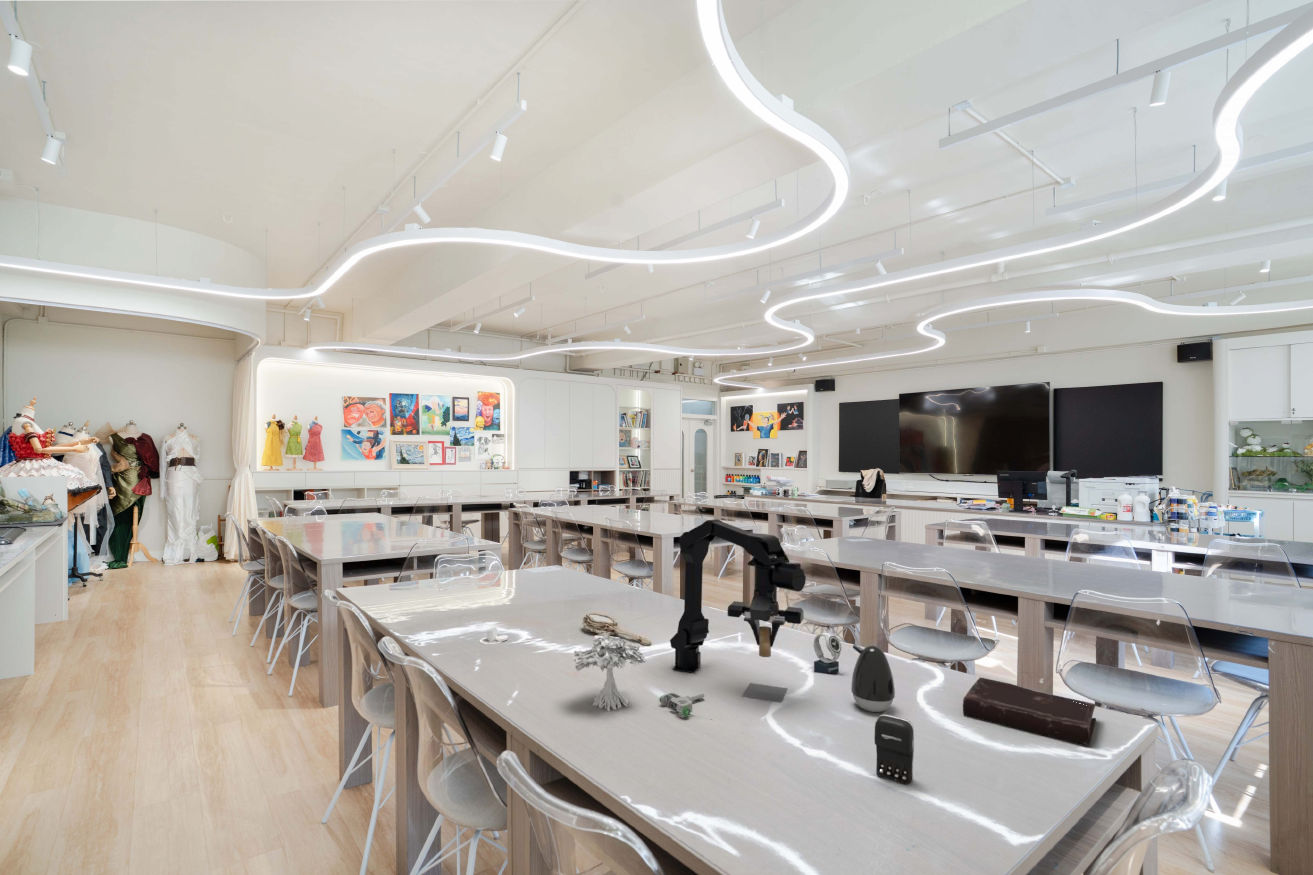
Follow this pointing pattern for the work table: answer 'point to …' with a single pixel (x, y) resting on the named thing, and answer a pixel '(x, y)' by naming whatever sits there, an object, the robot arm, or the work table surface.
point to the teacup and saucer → (493, 636)
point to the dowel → (764, 641)
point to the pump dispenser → (872, 680)
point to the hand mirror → (608, 627)
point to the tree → (609, 665)
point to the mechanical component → (680, 703)
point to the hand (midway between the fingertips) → (765, 645)
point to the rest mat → (765, 692)
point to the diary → (1030, 711)
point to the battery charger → (894, 748)
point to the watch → (825, 663)
